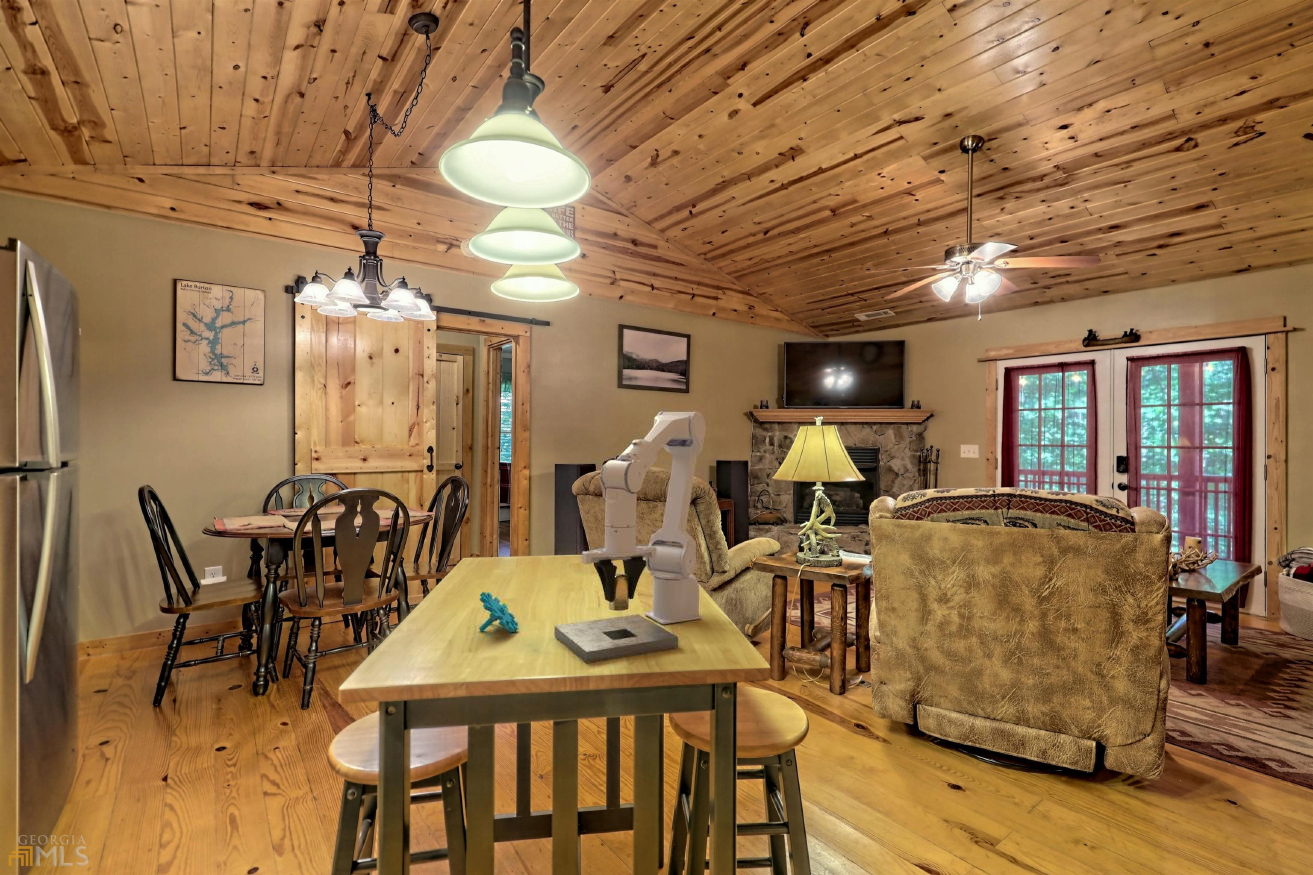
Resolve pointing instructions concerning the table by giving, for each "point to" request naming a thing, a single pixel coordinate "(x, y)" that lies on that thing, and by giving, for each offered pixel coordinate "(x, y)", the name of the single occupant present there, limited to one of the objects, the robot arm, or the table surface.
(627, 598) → the bushing
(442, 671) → the table surface
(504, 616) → the gear
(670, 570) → the robot arm
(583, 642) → the plate
